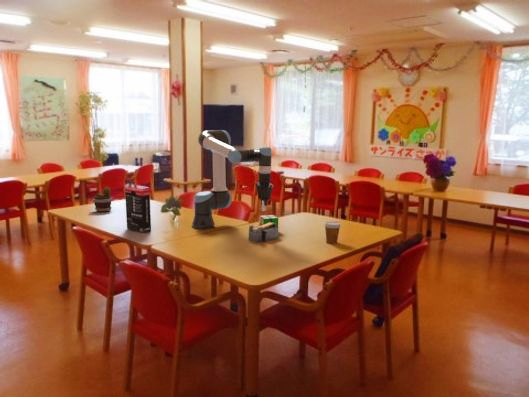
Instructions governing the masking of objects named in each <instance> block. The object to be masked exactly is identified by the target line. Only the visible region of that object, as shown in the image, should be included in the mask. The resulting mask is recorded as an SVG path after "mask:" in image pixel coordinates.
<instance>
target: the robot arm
mask: <svg viewBox="0 0 529 397" xmlns="http://www.w3.org/2000/svg"><path fill="white" fill-rule="evenodd" d="M231 142H232V139H231V134H229V132H228V131H227V130H223V129H215V130H214V129H211V130H204V131H202V132H200V134H198V144H199V146H200V147H202V148H203V149H204V150H209V151H211V152H212V179H213V180H212V183H213V184H212V185H213V187H212V188H211V190H208V191H207V190H206V191H200V192H196V193H195V194H194V199H193V201H194V217H193V221H192V223H191V227H192V228H194V229H199V230H200V229H201V230H206V229H212V228H215V225H216V224H215V221H214V217H213V211H215V210H222V209H223V210H224V209H227V208H229V207H230V205H231V204H232V200H233V199H232V194H231V192H230V191H229V189H228V187H227V185H226V183H227V181H226V158H227V159H228V161H229V162H230V163H231V164H232V163H233V164H238V163H239V164H240V163H251V162H255V163H258V172H259V173H258V181H257V182H255V186H256V192H257V198H258V199H259V200H260V205H261V211H262V212H265V211H267V206H268V201H269V200H271V197H272V194H273V193H272V192H273V189H274V187H275V185H274V184H272V183H271V179H272V157H273V156H272V155H273V154H272V147H269V146H260V147H259V148H258V149H256V148H248V149H238V148H237V147H235V146H233V145H232V146H231Z"/></svg>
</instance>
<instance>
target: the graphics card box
mask: <svg viewBox="0 0 529 397" xmlns="http://www.w3.org/2000/svg"><path fill="white" fill-rule="evenodd" d="M124 193H125V214H126V215H125V216H126V229H127V230H132V231H135V232H139V233H147V232H151V231H152V222H151V221H152V219H151V218H152V217H151V192H150V190H147V189H140V188H135V187H126V188H124Z"/></svg>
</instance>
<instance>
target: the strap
mask: <svg viewBox="0 0 529 397" xmlns="http://www.w3.org/2000/svg"><path fill="white" fill-rule="evenodd" d="M271 225H273V223H270V222H269V223H267V224H264V225H262V226H259V225H258V226H259V227H262V229H263V228H266V227H268V226H271ZM258 226H256V227H257V228H254V227H253V228H252V229H251V230H252V231H257V232H258Z"/></svg>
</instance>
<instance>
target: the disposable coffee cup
mask: <svg viewBox="0 0 529 397" xmlns="http://www.w3.org/2000/svg"><path fill="white" fill-rule="evenodd" d="M341 226H342V225H341V223H340V222H337V221H326V222H325V223H324V227H325V237H326V238H325V239H326V243H327V244H329V245H335V244H337V243H338V239H339V233H340V229H341Z"/></svg>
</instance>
